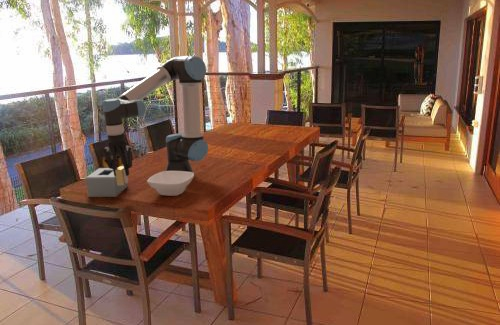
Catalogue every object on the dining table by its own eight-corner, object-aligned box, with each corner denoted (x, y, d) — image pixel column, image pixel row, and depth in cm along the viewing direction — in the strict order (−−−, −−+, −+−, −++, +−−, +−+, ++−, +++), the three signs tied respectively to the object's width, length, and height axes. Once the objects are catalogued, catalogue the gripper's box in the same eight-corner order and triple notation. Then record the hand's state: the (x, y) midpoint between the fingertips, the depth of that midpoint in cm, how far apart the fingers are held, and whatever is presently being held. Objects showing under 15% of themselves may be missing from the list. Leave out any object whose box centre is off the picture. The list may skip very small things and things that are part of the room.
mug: (117, 183, 236) (114, 161, 232) (101, 179, 243) (98, 158, 240) (131, 178, 243) (129, 157, 240) (115, 175, 251) (112, 154, 248)
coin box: (127, 186, 230) (125, 167, 227) (116, 196, 215) (113, 177, 212) (101, 186, 231) (99, 168, 229) (88, 196, 216) (85, 177, 213)
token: (128, 181, 209) (126, 165, 207) (123, 185, 203) (121, 169, 201) (122, 181, 209) (119, 166, 207) (117, 185, 204) (115, 169, 202)
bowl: (163, 185, 229) (162, 169, 227) (200, 188, 223) (199, 171, 221) (143, 199, 210) (141, 182, 208) (182, 202, 204) (181, 184, 202)
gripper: (135, 131, 203) (141, 179, 209) (101, 132, 204) (109, 180, 211) (130, 134, 196) (136, 184, 202) (95, 136, 197) (103, 185, 204)
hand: (122, 182), depth 206 cm, fingers closed on token, 3 cm apart
